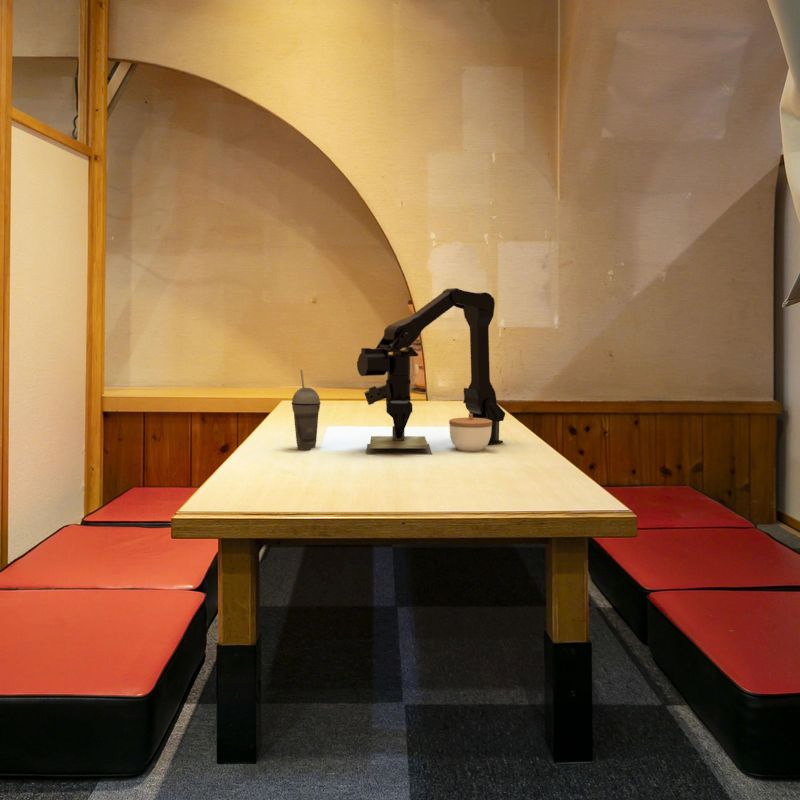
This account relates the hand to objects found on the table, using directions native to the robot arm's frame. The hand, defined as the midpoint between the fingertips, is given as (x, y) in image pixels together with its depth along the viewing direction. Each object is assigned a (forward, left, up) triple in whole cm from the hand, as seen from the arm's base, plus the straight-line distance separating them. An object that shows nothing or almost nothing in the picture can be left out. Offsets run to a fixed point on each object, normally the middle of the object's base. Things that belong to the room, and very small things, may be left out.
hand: (398, 437), depth 191 cm
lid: (0, 0, -2) cm, 2 cm away
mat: (0, 0, -3) cm, 3 cm away
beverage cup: (+17, -16, -4) cm, 24 cm away
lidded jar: (-14, +11, -4) cm, 18 cm away
